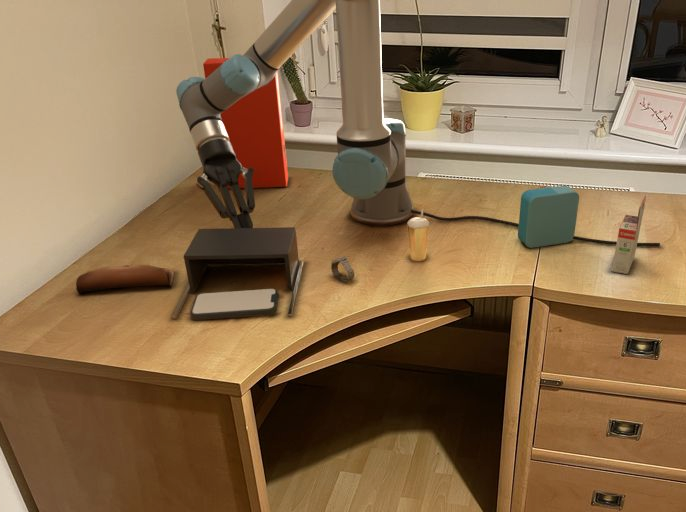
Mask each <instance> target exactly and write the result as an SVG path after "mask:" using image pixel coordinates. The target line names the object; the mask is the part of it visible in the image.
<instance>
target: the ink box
mask: <svg viewBox="0 0 686 512" xmlns="http://www.w3.org/2000/svg"><path fill="white" fill-rule="evenodd" d="M646 200H647V195H646V194H645V195H644V197H643V199H642V201H641V203H640V206H639V208H638V213H637V215H631V214H625V216H624V218H623V219H622V221H621V224H620V226H619V228H618V233H617V240H616V242H617V244H616V245H615V249H614V256H613V261H612V266H611V270H610V271H611V272H613V273H616V274H617V273H618V274H624V275H628V274H629V271H630V269H631V267H632V264H633V262H634V259H635V256H636V252H637V247H638V246H637V243H639V236H640V231H641V226H642V221H643V216H644V211H645V206H646Z"/></svg>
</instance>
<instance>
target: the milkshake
mask: <svg viewBox="0 0 686 512" xmlns="http://www.w3.org/2000/svg"><path fill="white" fill-rule="evenodd" d="M423 212H425V210H424V209H421V215H420V217H416V216H415V217H411V218H410V219H409V220H407V223H406V224H407V232H408V242H409V243H408V244H409V255H410V259H411V260H412V261H414V262H421V261H425V260H426V258H427V248H428V237H429V229H430V221H429V220H428V219H426V218H425V217H424V215H423Z"/></svg>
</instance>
